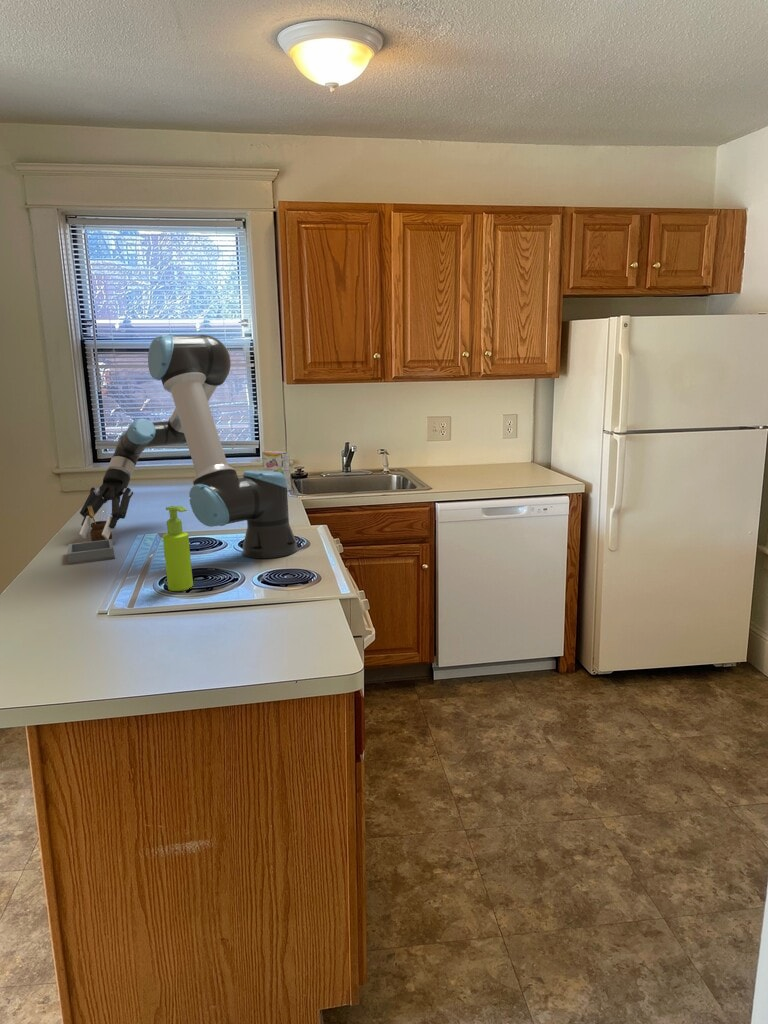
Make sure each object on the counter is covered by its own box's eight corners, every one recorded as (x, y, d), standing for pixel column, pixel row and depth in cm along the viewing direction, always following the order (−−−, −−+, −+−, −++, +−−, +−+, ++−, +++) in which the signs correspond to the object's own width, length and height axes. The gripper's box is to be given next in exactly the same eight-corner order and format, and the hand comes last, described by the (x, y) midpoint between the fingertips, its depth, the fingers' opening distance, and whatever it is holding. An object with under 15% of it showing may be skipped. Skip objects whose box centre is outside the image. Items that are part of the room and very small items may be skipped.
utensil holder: (103, 548, 211) (98, 508, 209) (86, 546, 214) (81, 508, 211) (117, 543, 217) (112, 504, 214) (100, 541, 219) (96, 504, 217)
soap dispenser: (182, 593, 167) (174, 510, 162) (162, 589, 170) (154, 507, 166) (201, 586, 171) (193, 505, 167) (181, 582, 175) (173, 503, 171)
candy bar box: (263, 490, 298) (261, 452, 295) (271, 488, 302) (269, 450, 299) (284, 492, 292) (281, 453, 289) (292, 490, 296) (289, 451, 293)
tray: (114, 558, 199) (113, 548, 199) (68, 564, 195) (67, 553, 194) (113, 548, 210) (112, 539, 209) (69, 554, 206) (68, 544, 205)
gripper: (152, 481, 224) (129, 543, 212) (97, 480, 228) (71, 542, 216) (141, 467, 218) (117, 530, 206) (84, 467, 222) (57, 529, 210)
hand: (93, 536), depth 211 cm, fingers open, 7 cm apart
